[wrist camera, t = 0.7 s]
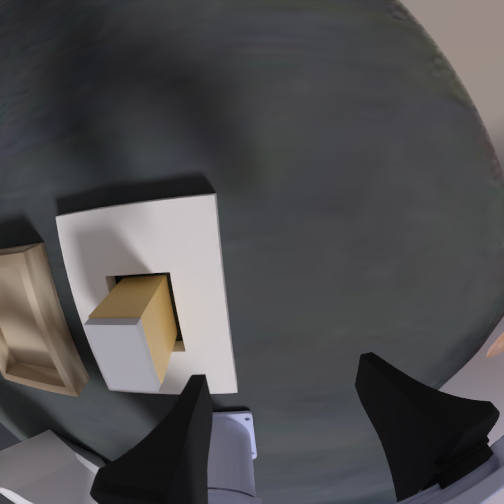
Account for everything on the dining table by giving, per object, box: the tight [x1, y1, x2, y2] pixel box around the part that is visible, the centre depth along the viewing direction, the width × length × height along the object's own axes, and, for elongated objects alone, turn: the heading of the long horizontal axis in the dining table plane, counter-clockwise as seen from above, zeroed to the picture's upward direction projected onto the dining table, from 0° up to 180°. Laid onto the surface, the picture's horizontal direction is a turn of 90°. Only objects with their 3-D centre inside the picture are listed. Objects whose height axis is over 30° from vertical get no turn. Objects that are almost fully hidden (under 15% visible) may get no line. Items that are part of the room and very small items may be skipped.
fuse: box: [84, 275, 178, 392], centre depth 17 cm, size 5×4×7 cm
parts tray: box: [0, 242, 89, 397], centre depth 19 cm, size 14×12×3 cm
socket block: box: [56, 193, 237, 394], centre depth 20 cm, size 16×12×2 cm
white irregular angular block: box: [0, 430, 106, 504], centre depth 19 cm, size 17×24×17 cm
